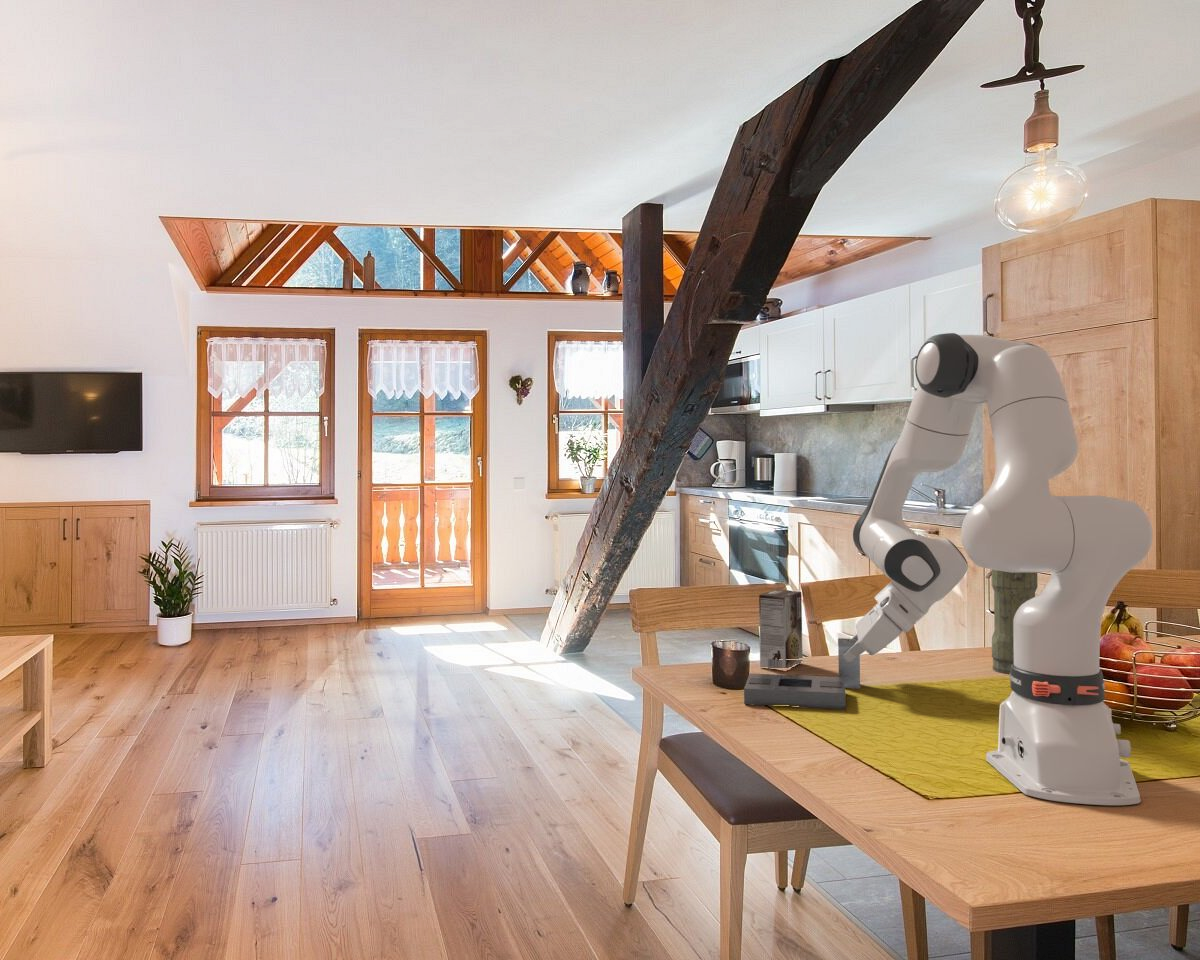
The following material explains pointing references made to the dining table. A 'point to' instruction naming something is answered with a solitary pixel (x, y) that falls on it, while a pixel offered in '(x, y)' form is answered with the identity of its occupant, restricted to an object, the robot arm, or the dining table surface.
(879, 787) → the dining table surface
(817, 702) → the grey slotted base
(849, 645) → the light grey block
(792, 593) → the coffee box
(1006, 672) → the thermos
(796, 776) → the dining table surface
